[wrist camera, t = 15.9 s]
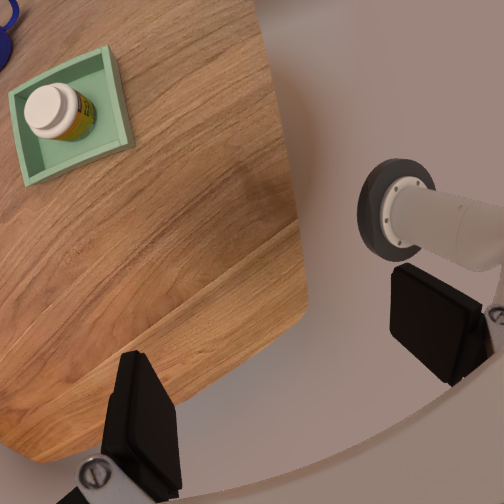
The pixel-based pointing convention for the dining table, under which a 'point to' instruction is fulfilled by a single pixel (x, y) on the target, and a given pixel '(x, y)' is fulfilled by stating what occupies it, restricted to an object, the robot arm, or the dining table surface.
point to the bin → (101, 136)
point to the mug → (1, 40)
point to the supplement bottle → (59, 113)
